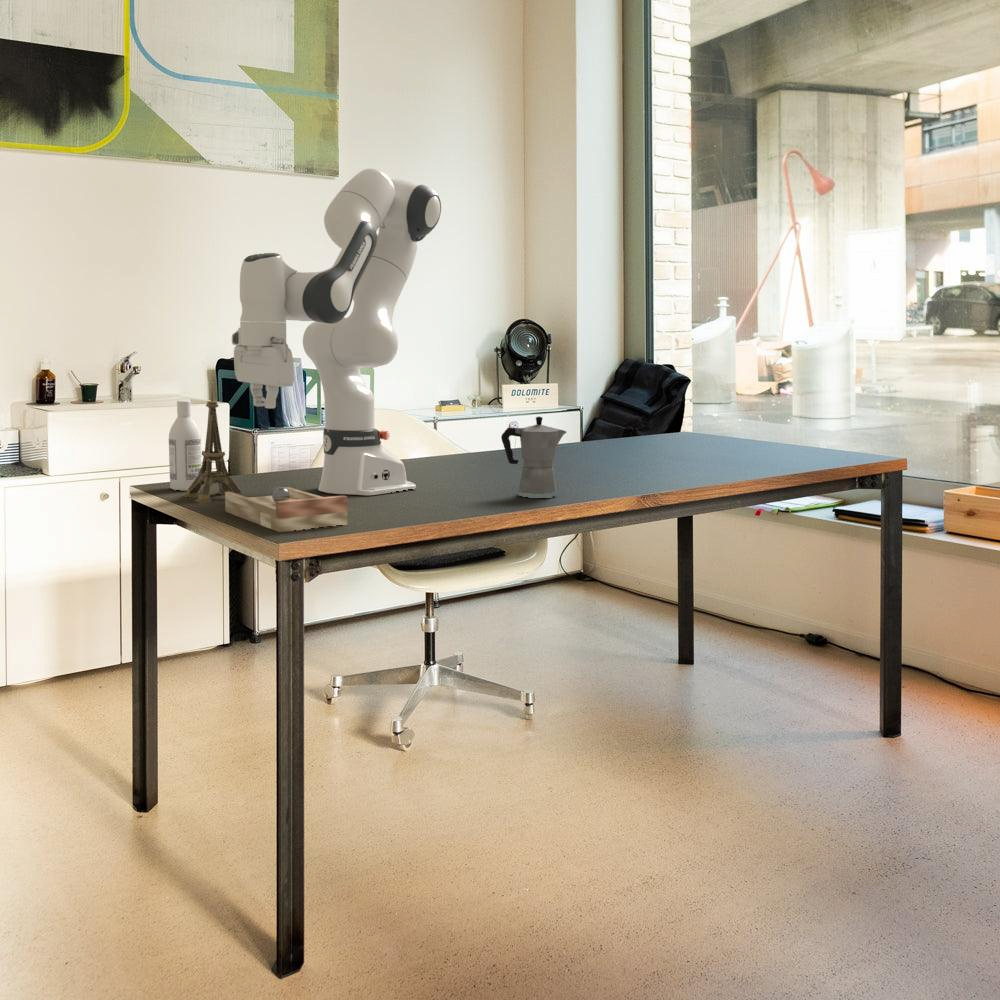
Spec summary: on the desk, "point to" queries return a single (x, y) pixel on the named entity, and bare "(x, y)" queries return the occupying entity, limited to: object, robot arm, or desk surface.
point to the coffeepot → (535, 456)
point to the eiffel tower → (209, 455)
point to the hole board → (289, 510)
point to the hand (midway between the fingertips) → (264, 407)
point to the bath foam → (184, 449)
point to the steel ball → (280, 494)
